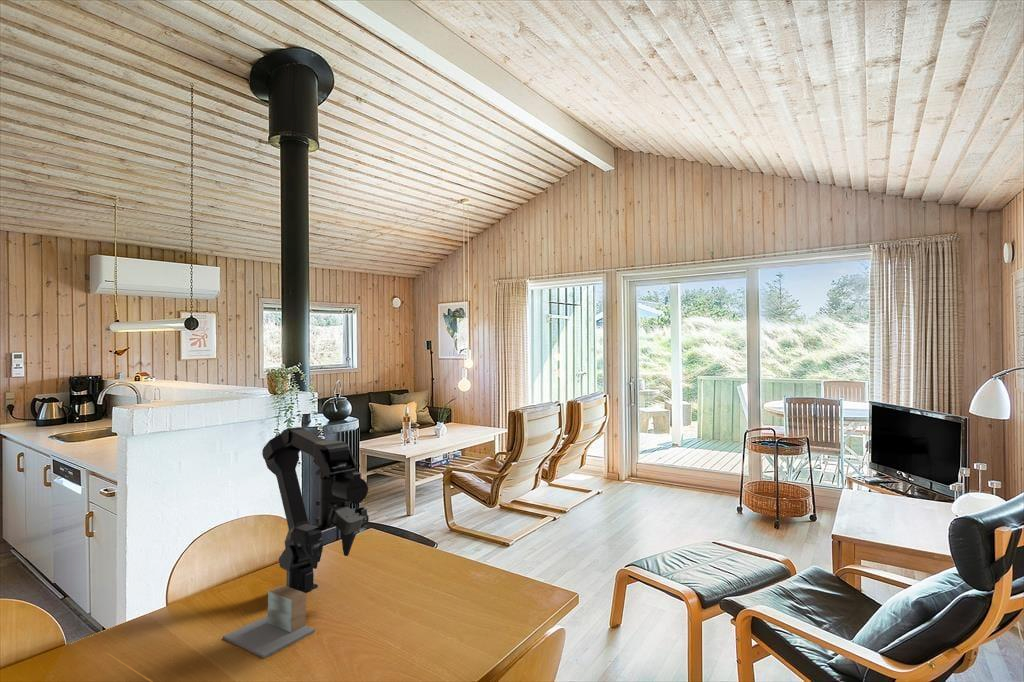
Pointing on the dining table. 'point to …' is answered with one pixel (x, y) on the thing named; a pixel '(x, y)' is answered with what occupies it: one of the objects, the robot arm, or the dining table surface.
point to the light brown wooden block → (287, 608)
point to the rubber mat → (265, 637)
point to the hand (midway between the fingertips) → (330, 561)
